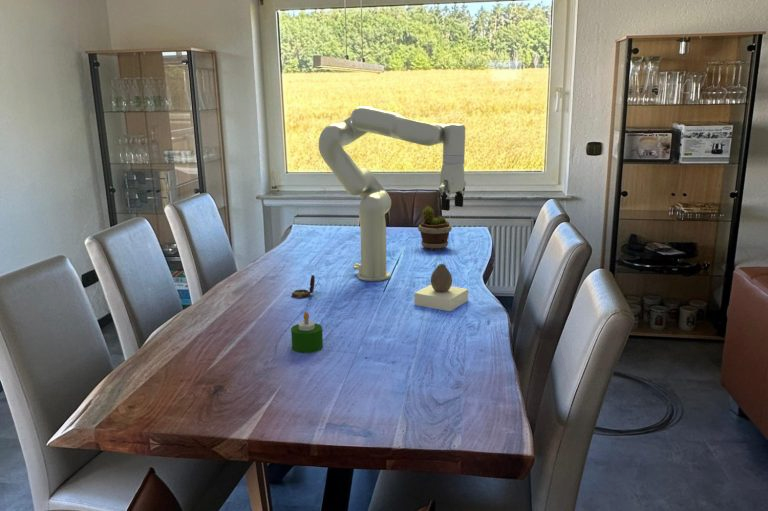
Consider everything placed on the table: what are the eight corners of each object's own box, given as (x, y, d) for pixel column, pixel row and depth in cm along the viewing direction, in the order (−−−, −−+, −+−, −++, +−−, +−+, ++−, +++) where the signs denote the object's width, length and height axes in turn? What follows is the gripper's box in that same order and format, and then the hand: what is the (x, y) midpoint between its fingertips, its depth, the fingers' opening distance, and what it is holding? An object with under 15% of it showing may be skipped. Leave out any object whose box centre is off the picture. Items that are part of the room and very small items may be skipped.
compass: (293, 292, 216) (292, 272, 215) (315, 292, 216) (315, 272, 215) (289, 300, 209) (288, 279, 207) (313, 300, 209) (312, 279, 207)
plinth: (414, 304, 203) (414, 292, 202) (433, 294, 213) (433, 283, 213) (450, 311, 196) (450, 299, 195) (467, 300, 207) (468, 289, 206)
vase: (450, 294, 200) (451, 268, 198) (429, 293, 201) (429, 267, 199) (452, 288, 207) (453, 262, 204) (432, 287, 208) (432, 261, 206)
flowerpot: (456, 246, 283) (457, 203, 278) (441, 253, 271) (441, 208, 266) (428, 243, 291) (429, 200, 286) (412, 249, 278) (412, 205, 273)
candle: (309, 355, 163) (308, 319, 160) (285, 349, 167) (283, 313, 165) (328, 345, 170) (327, 310, 167) (305, 339, 174) (303, 305, 171)
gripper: (456, 157, 227) (454, 204, 231) (431, 161, 213) (430, 210, 217) (474, 158, 222) (472, 206, 226) (450, 162, 209) (449, 212, 213)
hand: (452, 208), depth 222 cm, fingers open, 9 cm apart
